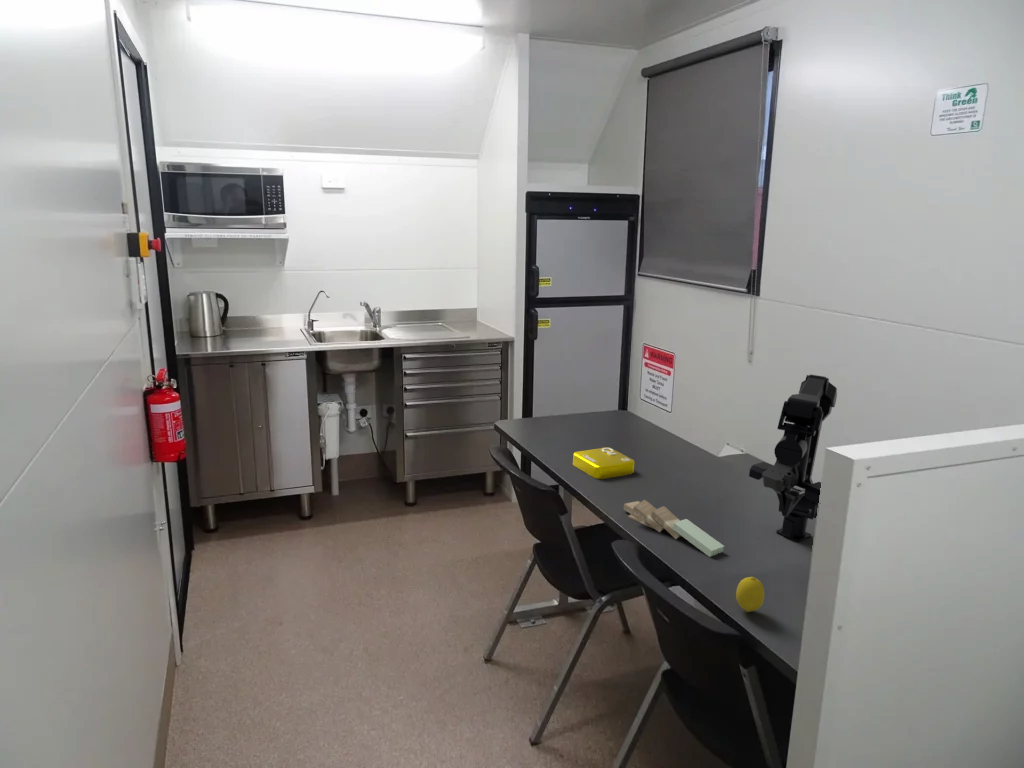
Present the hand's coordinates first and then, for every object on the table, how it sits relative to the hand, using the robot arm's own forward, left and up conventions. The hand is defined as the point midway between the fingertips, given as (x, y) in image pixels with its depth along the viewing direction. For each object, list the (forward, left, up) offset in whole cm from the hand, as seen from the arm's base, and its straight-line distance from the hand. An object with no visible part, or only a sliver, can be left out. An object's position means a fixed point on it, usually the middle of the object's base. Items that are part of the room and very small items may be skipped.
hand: (785, 516), depth 164 cm
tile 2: (+9, -27, -12) cm, 31 cm away
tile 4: (+8, -29, -13) cm, 33 cm away
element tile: (-8, -68, -14) cm, 70 cm away
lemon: (+23, +8, -13) cm, 28 cm away
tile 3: (+9, -32, -12) cm, 35 cm away
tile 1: (+8, -22, -12) cm, 26 cm away
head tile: (+8, -11, -12) cm, 18 cm away
